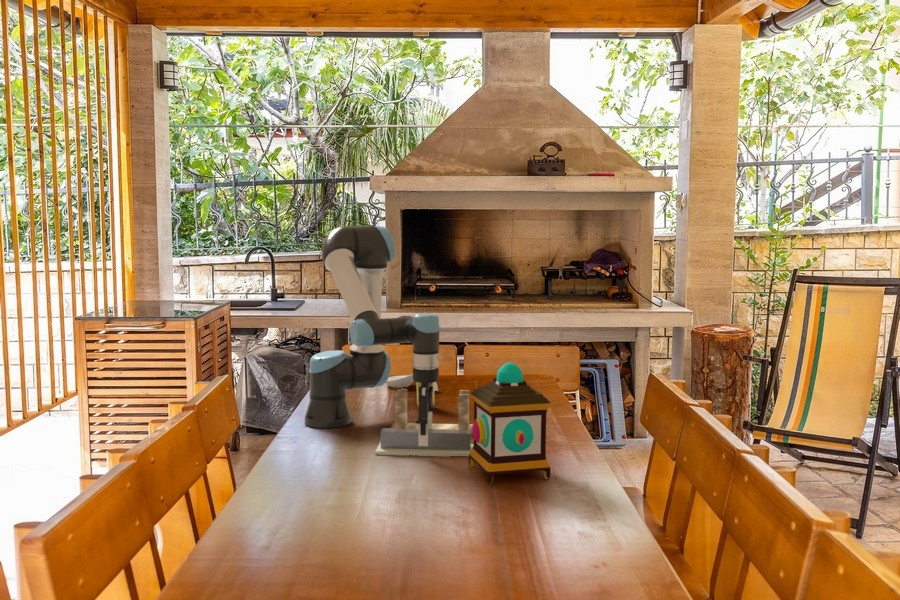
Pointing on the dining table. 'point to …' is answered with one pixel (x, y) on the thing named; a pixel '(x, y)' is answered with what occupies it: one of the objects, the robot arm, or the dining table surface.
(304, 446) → the dining table surface
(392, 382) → the spoon rest
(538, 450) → the decorative lantern
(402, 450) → the mat
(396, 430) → the rail
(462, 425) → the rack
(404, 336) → the robot arm
